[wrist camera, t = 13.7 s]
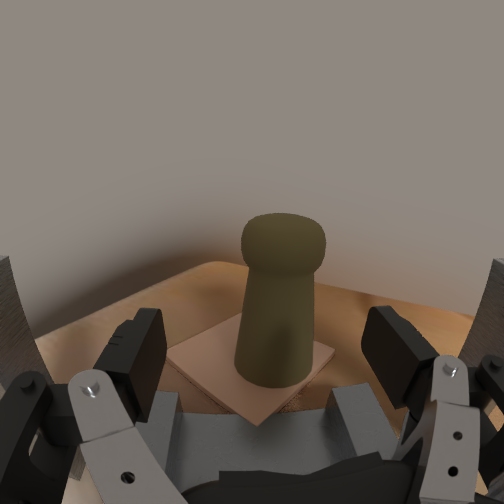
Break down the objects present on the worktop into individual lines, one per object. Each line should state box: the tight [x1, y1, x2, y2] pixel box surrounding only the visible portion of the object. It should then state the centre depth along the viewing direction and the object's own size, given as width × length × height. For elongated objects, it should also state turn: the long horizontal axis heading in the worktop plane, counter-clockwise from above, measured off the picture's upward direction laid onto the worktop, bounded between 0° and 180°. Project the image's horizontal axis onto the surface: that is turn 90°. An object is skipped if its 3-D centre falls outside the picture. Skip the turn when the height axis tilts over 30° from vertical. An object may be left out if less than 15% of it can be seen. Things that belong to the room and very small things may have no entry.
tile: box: [166, 312, 336, 427], centre depth 20 cm, size 10×10×1 cm
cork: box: [234, 213, 326, 389], centre depth 18 cm, size 6×6×11 cm
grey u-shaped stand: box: [0, 256, 504, 493], centre depth 8 cm, size 10×26×12 cm, turn 93°
